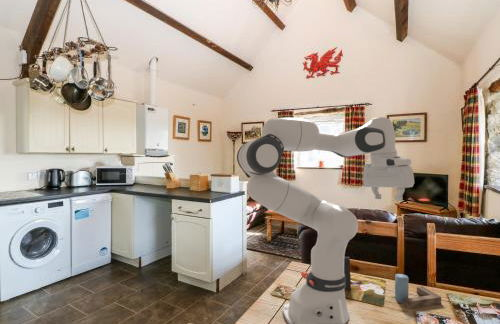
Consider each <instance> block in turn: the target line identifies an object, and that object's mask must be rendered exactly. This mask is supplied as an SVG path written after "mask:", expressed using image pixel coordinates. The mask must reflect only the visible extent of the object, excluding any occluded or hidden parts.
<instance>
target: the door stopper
mask: <svg viewBox="0 0 500 324" xmlns="http://www.w3.org/2000/svg"><path fill="white" fill-rule="evenodd" d="M350 259H351V258H350V256H347V255H346V256H345V255H344V274H345V279H346V287H345V290H347V289H349V290H350V291H351V290H352V283H351V260H350ZM349 290H348V291H349Z"/></svg>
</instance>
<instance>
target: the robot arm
mask: <svg viewBox="0 0 500 324" xmlns="http://www.w3.org/2000/svg"><path fill="white" fill-rule="evenodd" d="M315 150H316V151H317V150H318V151H326V152H332V153H333V154H335V155H337V156H339V157H342V158H345V159H346V158H351V157H355V156H361V155H367V154H369V155H370V162H369V163H366V164H365V165H364V166H363V173H362V179H363V181H362V183H363V186H364V187H365V188H371V192H372V193H373V195H374V199H375V200H381V199H382V194H381V193H380V191H379V188H396V191H397V194H396V195H394V199H395V200H394V201H399V202H400V201H403V199H404V198H403V195H404V193H405V190H406V189H407V188H413V187H414V184H415V176H414V170H413V168H412V166H410V165H412V160H411V158H408V157H405V156H401V155H398V150H397V149H396V132H395V128H394V124H393V122H392V120H391V119H390V118H388V117H382V116H380V117H373V118H370V119H369V120H368V122H367V123H365V124H363V125H362V126H359V127H358V128H355V129H352V130H347V131H344V132H339V133H337V134H334V135H333V134H327V133H320V130H319V127H318V125H317V124H316V123H315V122H314V121H311V120H308V119H304V118H298V117H297V118H296V117H277V118H270V119H268V120H267V121H265V123H264V124H263V127H262V131H261V136H260V138H256V139H252V140H249V141H248V142H245V143H244V144H242V145H241V146H240V147H239V149H238V151H237V153H236V161H237V163H238V166H239V167H240V169H241V170H242V171H243V174H245V176H246V177H247V178H249V181H248V184H247V193H248V195H249V197H250V198H251V199H252V200H254V201H255V202H257V204H259V205H261V206H263V207H264V208H266V209H268V210H271V211H272V212H275V213H276V214H279V215H281V216H283V217H286V218H287V219H290V220H292V221H295V222H297V223H300V224H302V225H305V226H307V227H309V228H312V229H313V230H315V231H316V232H317V238H316V242H315V245H314V246H313V247H312V248H311V250H310V265H311V266H310V271H309V273H308V272H306V271H305V270H303V271H302V272H301V274H300V275H301V276H302V278H303V279H304V280H305V282H304V283H303V284H302V285H300V286H299V287H298V288H297V289H295V290H294V291H293V292H292V293H291V295H290V297H289V302H288V303H286V304H284V305H283V308H282V312H283V313H282V314H283V317H284V318H285V321H286V322H287V323H288V324H347V323H348V321H349V319H350V313H349V310H348V306H347V301H346V293H345V291H346V289H345V287H346V279H345V274H344V256H345V254H346V249H347V246H348V243H349V242H350V240H352V239H353V238H354V237H355V236H356V234H357V233H358V230H359V221H358V218H357V217H356V215H355V214H354V213H353V212H352V211H350V210H349V209H348V208H346V207H345V206H343V205H342V206H341V205H339V204H337V203H333V202H331V201H328V200H325V199H322V198H320V197H319V196H317V195H315V194H314V193H311V192H310V191H308V190H307V189H305V188H303V187H301V186H299V185H297V184H295V183H294V182H293V183H292V182H291V181H288V180H287V179H284V178H282V177H280V176H279V175H277V174H276V173H275V172H274V171H276V169H277V168H278V166H279V165H280V164H281V160H282V157H283V152H284V151H285V152H286V151H287V152H310V151H315Z"/></svg>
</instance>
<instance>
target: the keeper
mask: <svg viewBox="0 0 500 324" xmlns="http://www.w3.org/2000/svg"><path fill="white" fill-rule="evenodd" d="M394 276H395V277H394V299H395V301H396V302H398V303H401V304H405V299H406V298H409V280H410V278H409V276H408V275H406V274H402V273H395V275H394Z"/></svg>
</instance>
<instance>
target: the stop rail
mask: <svg viewBox="0 0 500 324" xmlns="http://www.w3.org/2000/svg"><path fill="white" fill-rule="evenodd" d="M416 294H417V295H420V296H415V297H408V298H406V299H405V303H404V305H405V306H406V307H407V308H408V309H414V308H415V309H416V308H421V307H429V306H430V307H431V306H435V305H441V304H442V296H440V295H438V294H437V293H434V291H432V290H430V289H428V288H426V287H424V286H423V285H421V286H416Z"/></svg>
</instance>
